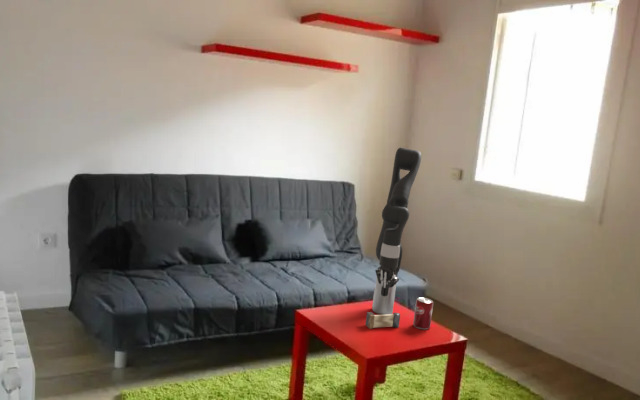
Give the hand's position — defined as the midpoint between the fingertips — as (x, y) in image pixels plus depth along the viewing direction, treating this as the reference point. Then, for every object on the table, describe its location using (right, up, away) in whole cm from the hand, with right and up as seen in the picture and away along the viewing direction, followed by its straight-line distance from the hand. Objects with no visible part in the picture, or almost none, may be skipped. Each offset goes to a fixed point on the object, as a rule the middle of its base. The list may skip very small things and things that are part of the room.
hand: (384, 295), depth 230 cm
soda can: (+18, -16, +14) cm, 28 cm away
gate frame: (+1, -15, +10) cm, 17 cm away
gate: (-1, -14, +8) cm, 16 cm away
